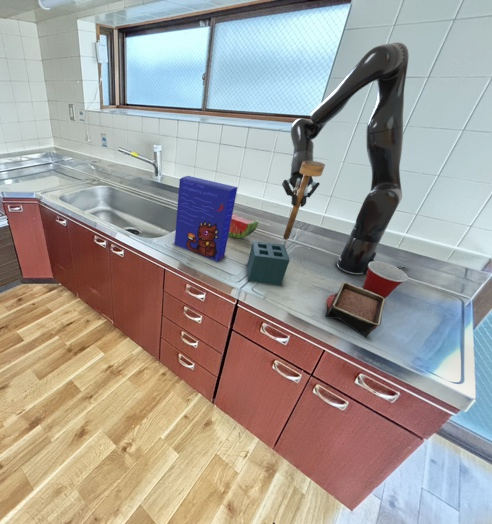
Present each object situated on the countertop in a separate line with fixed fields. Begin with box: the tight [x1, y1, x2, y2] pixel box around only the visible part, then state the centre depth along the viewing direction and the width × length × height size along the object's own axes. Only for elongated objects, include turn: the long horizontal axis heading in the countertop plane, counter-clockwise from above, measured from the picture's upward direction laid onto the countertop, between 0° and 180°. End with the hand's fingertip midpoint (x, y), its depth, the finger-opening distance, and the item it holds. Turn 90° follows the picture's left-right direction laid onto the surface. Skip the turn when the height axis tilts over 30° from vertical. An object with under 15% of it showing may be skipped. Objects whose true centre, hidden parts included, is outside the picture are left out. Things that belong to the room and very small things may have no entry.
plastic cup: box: [362, 260, 409, 299], centre depth 95 cm, size 11×11×12 cm
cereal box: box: [174, 175, 238, 263], centre depth 117 cm, size 22×6×30 cm, turn 48°
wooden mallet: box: [282, 160, 326, 240], centre depth 110 cm, size 8×7×33 cm
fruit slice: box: [228, 213, 259, 239], centre depth 137 cm, size 26×6×10 cm, turn 38°
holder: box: [246, 240, 290, 287], centre depth 107 cm, size 11×11×11 cm
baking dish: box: [324, 282, 386, 339], centre depth 87 cm, size 14×18×10 cm
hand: (298, 205), depth 110 cm, fingers closed on wooden mallet
